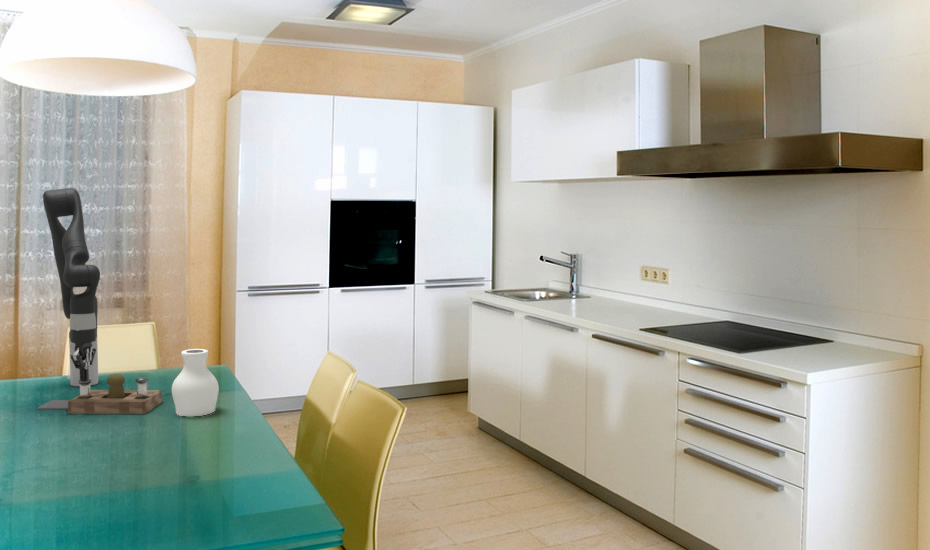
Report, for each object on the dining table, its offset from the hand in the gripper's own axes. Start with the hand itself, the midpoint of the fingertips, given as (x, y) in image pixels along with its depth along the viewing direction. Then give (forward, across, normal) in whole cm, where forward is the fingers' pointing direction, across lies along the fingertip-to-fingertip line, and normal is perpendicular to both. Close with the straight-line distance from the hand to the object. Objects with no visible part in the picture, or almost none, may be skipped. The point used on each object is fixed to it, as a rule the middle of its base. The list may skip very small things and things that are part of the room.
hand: (84, 380), depth 245 cm
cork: (+10, -2, +9) cm, 14 cm away
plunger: (+8, 0, 0) cm, 8 cm away
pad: (+10, -4, -10) cm, 14 cm away
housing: (+10, -2, +9) cm, 13 cm away
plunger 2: (+7, 0, +18) cm, 20 cm away
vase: (+10, +3, +36) cm, 37 cm away
